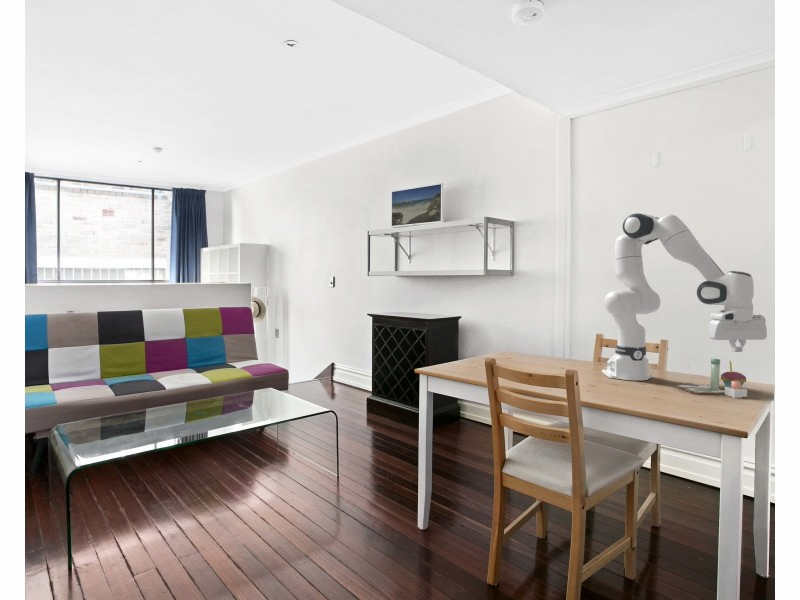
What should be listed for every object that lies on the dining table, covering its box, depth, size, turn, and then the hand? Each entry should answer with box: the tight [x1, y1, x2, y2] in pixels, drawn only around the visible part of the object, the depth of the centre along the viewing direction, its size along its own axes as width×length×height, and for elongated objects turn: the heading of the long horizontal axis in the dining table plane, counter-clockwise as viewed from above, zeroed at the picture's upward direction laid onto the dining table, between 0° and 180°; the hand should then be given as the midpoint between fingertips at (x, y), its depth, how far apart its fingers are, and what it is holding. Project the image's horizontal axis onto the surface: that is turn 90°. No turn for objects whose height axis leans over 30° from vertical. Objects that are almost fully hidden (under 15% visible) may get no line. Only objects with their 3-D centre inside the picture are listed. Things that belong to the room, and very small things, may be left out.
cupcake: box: [720, 360, 747, 388], centre depth 194 cm, size 9×8×12 cm
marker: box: [710, 358, 721, 391], centre depth 189 cm, size 3×3×12 cm
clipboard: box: [674, 382, 725, 395], centre depth 193 cm, size 15×14×1 cm
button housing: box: [723, 386, 748, 399], centre depth 183 cm, size 5×5×3 cm
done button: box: [731, 381, 742, 389], centre depth 183 cm, size 3×3×4 cm
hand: (737, 351), depth 182 cm, fingers closed
